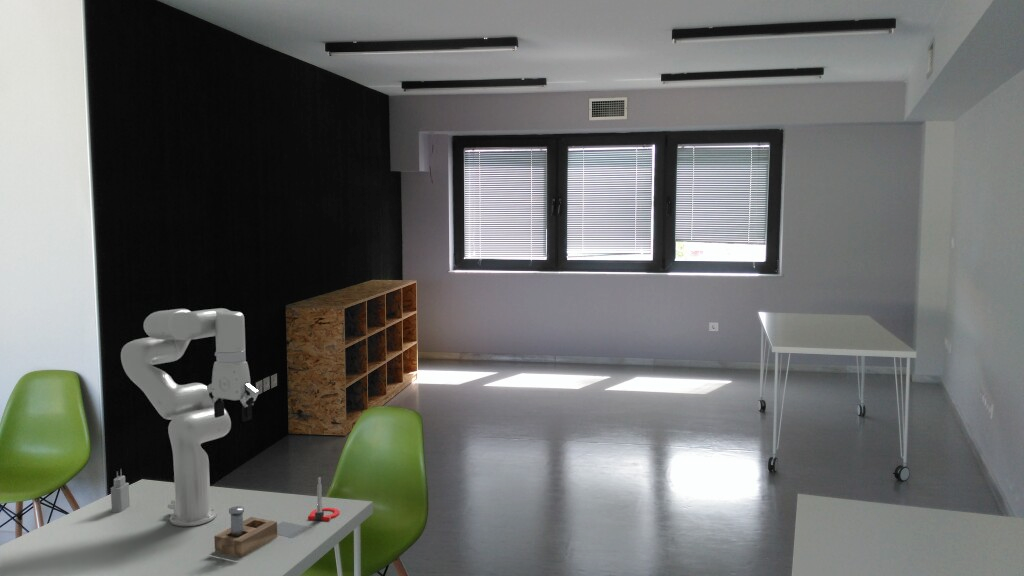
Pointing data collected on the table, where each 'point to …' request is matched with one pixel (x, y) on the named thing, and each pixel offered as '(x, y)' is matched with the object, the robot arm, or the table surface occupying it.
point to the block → (246, 537)
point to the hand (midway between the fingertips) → (233, 418)
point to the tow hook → (318, 513)
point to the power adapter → (120, 494)
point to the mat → (290, 529)
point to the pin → (236, 521)
